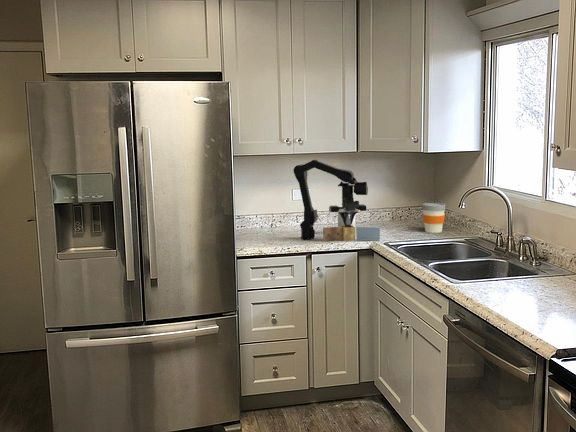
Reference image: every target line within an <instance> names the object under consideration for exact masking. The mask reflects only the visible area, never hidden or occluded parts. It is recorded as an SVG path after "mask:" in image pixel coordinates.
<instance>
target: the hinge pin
mask: <svg viewBox="0 0 576 432" xmlns="http://www.w3.org/2000/svg"><path fill="white" fill-rule="evenodd" d="M344 212H345V227H351V211H344Z"/></svg>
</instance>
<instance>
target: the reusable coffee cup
mask: <svg viewBox="0 0 576 432" xmlns="http://www.w3.org/2000/svg"><path fill="white" fill-rule="evenodd" d="M421 210H422V220H423V221H422V222H423V224H424V231H425V232H426V233H433V234H436V233H437V234H438V233H442V232H443V227H444V226H443V225H444V222H445V217H446V214H445V211H446V203H441V202H425V203H422V208H421Z"/></svg>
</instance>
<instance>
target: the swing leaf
mask: <svg viewBox="0 0 576 432" xmlns="http://www.w3.org/2000/svg"><path fill="white" fill-rule="evenodd" d="M355 234H356V240H357V241H362V240H363V241H381V227H379V226H355Z"/></svg>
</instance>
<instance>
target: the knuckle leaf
mask: <svg viewBox="0 0 576 432" xmlns="http://www.w3.org/2000/svg"><path fill="white" fill-rule="evenodd" d="M322 229H323V230H322V237H323V242H335V240H339V241H343V242H353V240H355V241H356V226H355V227H354V226H352V225H351V227H345V226H341V227H338V226H330V227H329V226H328V227H323V228H322Z"/></svg>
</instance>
